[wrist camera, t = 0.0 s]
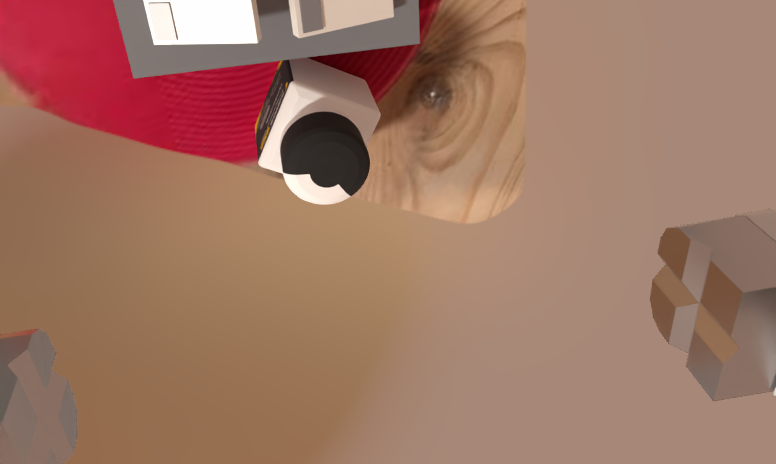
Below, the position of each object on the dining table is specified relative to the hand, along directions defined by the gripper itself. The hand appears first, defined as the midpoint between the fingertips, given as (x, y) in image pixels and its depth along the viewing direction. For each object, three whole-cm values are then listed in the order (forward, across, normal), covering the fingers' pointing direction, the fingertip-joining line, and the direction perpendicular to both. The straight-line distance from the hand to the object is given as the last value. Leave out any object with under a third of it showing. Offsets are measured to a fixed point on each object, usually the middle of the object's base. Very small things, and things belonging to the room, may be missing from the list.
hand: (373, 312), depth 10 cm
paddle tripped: (+40, +4, +7) cm, 41 cm away
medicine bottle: (+48, -2, +17) cm, 51 cm away
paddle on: (+40, -4, +7) cm, 41 cm away
